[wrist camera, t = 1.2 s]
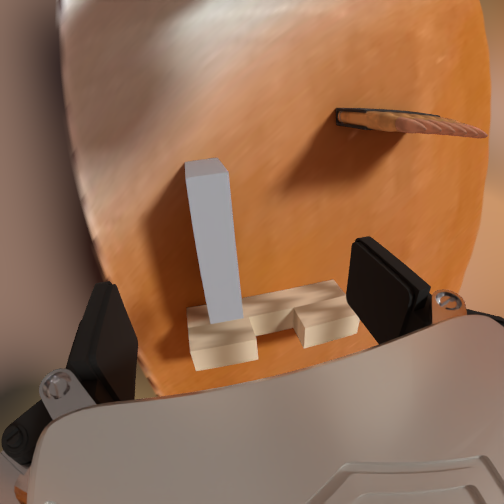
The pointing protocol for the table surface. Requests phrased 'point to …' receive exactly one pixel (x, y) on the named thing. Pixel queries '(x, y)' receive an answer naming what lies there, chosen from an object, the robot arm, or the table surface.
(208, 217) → the grey block
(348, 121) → the ammunition clip
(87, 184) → the table surface
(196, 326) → the birch block
